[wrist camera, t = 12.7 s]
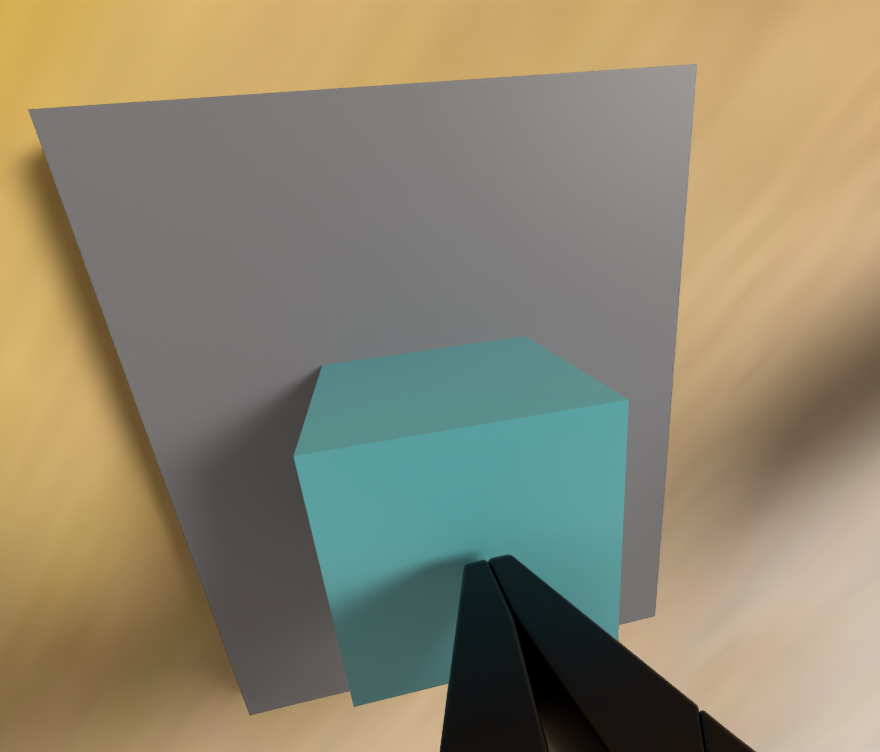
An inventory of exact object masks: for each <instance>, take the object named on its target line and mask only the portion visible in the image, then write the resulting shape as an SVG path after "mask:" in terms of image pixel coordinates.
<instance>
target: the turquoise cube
mask: <svg viewBox="0 0 880 752" xmlns="http://www.w3.org/2000/svg"><path fill="white" fill-rule="evenodd" d="M628 407H629V399H627V398H625V397H624V396H622V395H621V394H619V393H617V392H616V391H614V390H612V389H611V388H609V387H608V386H606V385H604V384H603V383H601V382H599V381H598V380H596V379H594V378H593V377H591V376H590V375H588V374H586V373H585V372H583V371H581V370H580V369H578V368H576V367H575V366H573V365H572V364H570V363H568V362H567V361H565V360H563V359H562V358H560V357H559V356H557V355H555V354H554V353H552V352H550V351H549V350H547V349H545V348H544V347H542V346H541V345H539V344H537V343H536V342H534V341H532V340H531V339H529V338H528V337H526V336H522V337H515V338H508V339H501V340H494V341H487V342H480V343H473V344H466V345H459V346H452V347H445V348H438V349H431V350H424V351H418V352H411V353H404V354H397V355H390V356H383V357H376V358H369V359H362V360H355V361H348V362H341V363H334V364H327V365H322V368H321V371H320V374H319V377H318V380H317V384H316V387H315V390H314V393H313V396H312V399H311V403H310V406H309V409H308V412H307V415H306V418H305V422H304V425H303V428H302V431H301V434H300V437H299V441H298V444H297V447H296V450H295V453H294V460H295V465H296V469H297V473H298V477H299V481H300V485H301V489H302V494H303V498H304V502H305V506H306V510H307V514H308V519H309V523H310V527H311V531H312V535H313V539H314V543H315V548H316V552H317V556H318V560H319V564H320V568H321V572H322V577H323V581H324V585H325V589H326V593H327V597H328V601H329V606H330V610H331V614H332V618H333V622H334V626H335V630H336V635H337V639H338V643H339V647H340V651H341V655H342V660H343V664H344V668H345V672H346V676H347V680H348V684H349V689H350V693H351V697H352V701H353V705H354V707H355V706H359V705H363V704H367V703H371V702H375V701H379V700H383V699H387V698H392V697H396V696H400V695H404V694H408V693H412V692H416V691H420V690H424V689H428V688H432V687H436V686H440V685H444V684H448V683H449V676H450V669H451V661H452V653H453V646H454V638H455V630H456V622H457V615H458V607H459V599H460V592H461V584H462V576H463V569H464V565H465V564H466V563H470V562H474V561H479V560H486V561H487V562H488V560H489V559H490V558H493V557H498V556H502V555H507V554H509V555H512V556H514V557H515V558H516V559H517V560H519V561H520V562H521V563H522V564H524V565H525V566H526V567H527V568H528V569H530V570H531V571H532V572H533V573H535V574H536V575H537V576H538V577H540V578H541V579H542V580H543V581H545V582H546V583H547V584H548V585H549V586H551V587H552V588H553V589H554V590H556V591H557V592H558V593H559V594H561V595H562V596H563V597H564V598H565V599H567V600H568V601H569V602H570V603H572V604H573V605H574V606H575V607H577V608H578V609H579V610H580V611H582V612H583V613H584V614H585V615H586V616H588V617H589V618H590V619H591V620H593V621H594V622H595V623H596V624H598V625H599V626H600V627H601V628H602V629H604V630H605V631H606V632H607V633H609V634H610V635H611V636H612V637H614V638H615V639H616V640H617V641H618V628H619V606H620V584H621V562H622V540H623V517H624V495H625V473H626V451H627V429H628Z"/></svg>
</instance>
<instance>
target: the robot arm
mask: <svg viewBox="0 0 880 752" xmlns="http://www.w3.org/2000/svg"><path fill="white" fill-rule="evenodd" d="M440 752H755V751H754V750H753V749H752V748H750V747H749V746H748V745H746V744H745V743H744V742H743V741H741V740H740V739H739V738H737V737H736V736H735V735H734V734H732V733H731V732H730V731H729V730H727V729H726V728H725V727H724V726H723V725H721V724H720V723H719V722H718V721H716V720H715V719H714V718H713V717H711V716H710V715H709V714H708V713H706V712H705V711H703V710H702V711H700V712H699V708H698V706H697V705H696V704H695V703H694V702H693V701H691V700H690V699H689V698H688V697H686V696H685V695H684V694H683V693H681V692H680V691H679V690H678V689H677V688H675V687H674V686H673V685H672V684H670V683H669V682H668V681H667V680H665V679H664V678H663V677H662V676H660V675H659V674H658V673H657V672H656V671H654V670H653V669H652V668H651V667H649V666H648V665H647V664H646V663H644V662H643V661H642V660H641V659H640V658H638V657H637V656H636V655H635V654H633V653H632V652H631V651H630V650H628V649H627V648H626V647H625V646H623V645H622V644H621V643H620V642H619V641H617V640H616V639H615V638H614V637H612V636H611V635H610V634H609V633H607V632H606V631H605V630H604V629H602V628H601V627H600V626H599V625H598V624H596V623H595V622H594V621H593V620H591V619H590V618H589V617H588V616H586V615H585V614H584V613H583V612H582V611H580V610H579V609H578V608H577V607H575V606H574V605H573V604H572V603H570V602H569V601H568V600H567V599H565V598H564V597H563V596H562V595H561V594H559V593H558V592H557V591H556V590H554V589H553V588H552V587H551V586H549V585H548V584H547V583H546V582H545V581H543V580H542V579H541V578H540V577H538V576H537V575H536V574H535V573H533V572H532V571H531V570H530V569H528V568H527V567H526V566H525V565H524V564H522V563H521V562H520V561H519V560H517V559H516V558H515V557H514V556H512V555H509V554H507V555H502V556H498V557H493V558H490V559H489V560H488V562H487V561H486V560H479V561H474V562H470V563H466V564H465V565H464V569H463V576H462V584H461V592H460V599H459V607H458V615H457V622H456V630H455V638H454V646H453V653H452V661H451V669H450V676H449V684H448V692H447V700H446V707H445V715H444V723H443V730H442V738H441V746H440Z"/></svg>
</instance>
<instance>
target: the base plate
mask: <svg viewBox="0 0 880 752" xmlns="http://www.w3.org/2000/svg"><path fill="white" fill-rule="evenodd" d="M696 70H697V64H692V65H678V66H663V67H648V68H633V69H619V70H604V71H589V72H574V73H559V74H545V75H530V76H515V77H500V78H486V79H471V80H456V81H441V82H427V83H412V84H397V85H382V86H368V87H353V88H338V89H323V90H309V91H294V92H279V93H264V94H250V95H235V96H220V97H205V98H191V99H176V100H161V101H146V102H131V103H117V104H102V105H87V106H72V107H58V108H43V109H28V110H29V113H30V116H31V119H32V121H33V124H34V127H35V129H36V132H37V135H38V138H39V140H40V143H41V146H42V149H43V151H44V154H45V157H46V160H47V162H48V165H49V168H50V170H51V173H52V176H53V179H54V181H55V184H56V187H57V190H58V192H59V195H60V198H61V201H62V203H63V206H64V209H65V211H66V214H67V217H68V220H69V222H70V225H71V228H72V231H73V233H74V236H75V239H76V242H77V244H78V247H79V250H80V253H81V255H82V258H83V261H84V263H85V266H86V269H87V272H88V274H89V277H90V280H91V283H92V285H93V288H94V291H95V294H96V296H97V299H98V302H99V304H100V307H101V310H102V313H103V315H104V318H105V321H106V324H107V326H108V329H109V332H110V335H111V337H112V340H113V343H114V346H115V348H116V351H117V354H118V356H119V359H120V362H121V365H122V367H123V370H124V373H125V376H126V378H127V381H128V384H129V387H130V389H131V392H132V395H133V397H134V400H135V403H136V406H137V408H138V411H139V414H140V417H141V419H142V422H143V425H144V428H145V430H146V433H147V436H148V438H149V441H150V444H151V447H152V449H153V452H154V455H155V458H156V460H157V463H158V466H159V469H160V471H161V474H162V477H163V480H164V482H165V485H166V488H167V490H168V493H169V496H170V499H171V501H172V504H173V507H174V510H175V512H176V515H177V518H178V521H179V523H180V526H181V529H182V531H183V534H184V537H185V540H186V542H187V545H188V548H189V551H190V553H191V556H192V559H193V562H194V564H195V567H196V570H197V573H198V575H199V578H200V581H201V583H202V586H203V589H204V592H205V594H206V597H207V600H208V603H209V605H210V608H211V611H212V614H213V616H214V619H215V622H216V624H217V627H218V630H219V633H220V635H221V638H222V641H223V644H224V646H225V649H226V652H227V655H228V657H229V660H230V663H231V665H232V668H233V671H234V674H235V676H236V679H237V682H238V685H239V687H240V690H241V693H242V696H243V698H244V701H245V704H246V707H247V709H248V712H249V715H253V714H257V713H261V712H265V711H269V710H273V709H278V708H282V707H286V706H290V705H294V704H298V703H302V702H306V701H310V700H314V699H318V698H322V697H327V696H331V695H335V694H339V693H343V692H347V691H350V689H349V684H348V680H347V676H346V672H345V668H344V664H343V660H342V655H341V651H340V647H339V643H338V639H337V635H336V630H335V626H334V622H333V618H332V614H331V610H330V606H329V601H328V597H327V593H326V589H325V585H324V581H323V577H322V572H321V568H320V564H319V560H318V556H317V552H316V548H315V543H314V539H313V535H312V531H311V527H310V523H309V519H308V514H307V510H306V506H305V502H304V498H303V494H302V489H301V485H300V481H299V477H298V473H297V469H296V465H295V460H294V453H295V450H296V447H297V444H298V441H299V437H300V434H301V431H302V428H303V425H304V422H305V418H306V415H307V412H308V409H309V406H310V403H311V399H312V396H313V393H314V390H315V387H316V384H317V380H318V377H319V374H320V371H321V368H322V365H327V364H334V363H341V362H348V361H355V360H362V359H369V358H376V357H383V356H390V355H397V354H404V353H411V352H418V351H424V350H431V349H438V348H445V347H452V346H459V345H466V344H473V343H480V342H487V341H494V340H501V339H508V338H515V337H522V336H526V337H528V338H529V339H531V340H532V341H534V342H536V343H537V344H539V345H541V346H542V347H544V348H545V349H547V350H549V351H550V352H552V353H554V354H555V355H557V356H559V357H560V358H562V359H563V360H565V361H567V362H568V363H570V364H572V365H573V366H575V367H576V368H578V369H580V370H581V371H583V372H585V373H586V374H588V375H590V376H591V377H593V378H594V379H596V380H598V381H599V382H601V383H603V384H604V385H606V386H608V387H609V388H611V389H612V390H614V391H616V392H617V393H619V394H621V395H622V396H624V397H625V398H627V399H629V407H628V429H627V451H626V473H625V495H624V517H623V540H622V562H621V584H620V606H619V625H621V624H625V623H629V622H633V621H637V620H641V619H645V618H649V617H653V616H655V608H656V595H657V581H658V568H659V555H660V542H661V529H662V516H663V503H664V490H665V477H666V463H667V450H668V437H669V424H670V411H671V398H672V385H673V372H674V359H675V345H676V332H677V319H678V306H679V293H680V280H681V267H682V254H683V241H684V227H685V214H686V201H687V188H688V175H689V162H690V149H691V136H692V123H693V109H694V96H695V83H696Z"/></svg>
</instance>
